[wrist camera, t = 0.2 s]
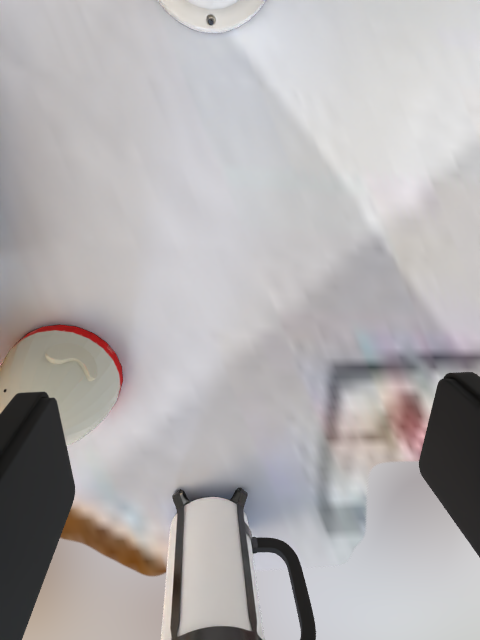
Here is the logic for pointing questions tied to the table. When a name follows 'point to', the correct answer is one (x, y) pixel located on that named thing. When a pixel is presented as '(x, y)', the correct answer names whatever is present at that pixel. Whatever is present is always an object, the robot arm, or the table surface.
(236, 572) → the coffee press
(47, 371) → the kitchen timer
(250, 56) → the table surface
